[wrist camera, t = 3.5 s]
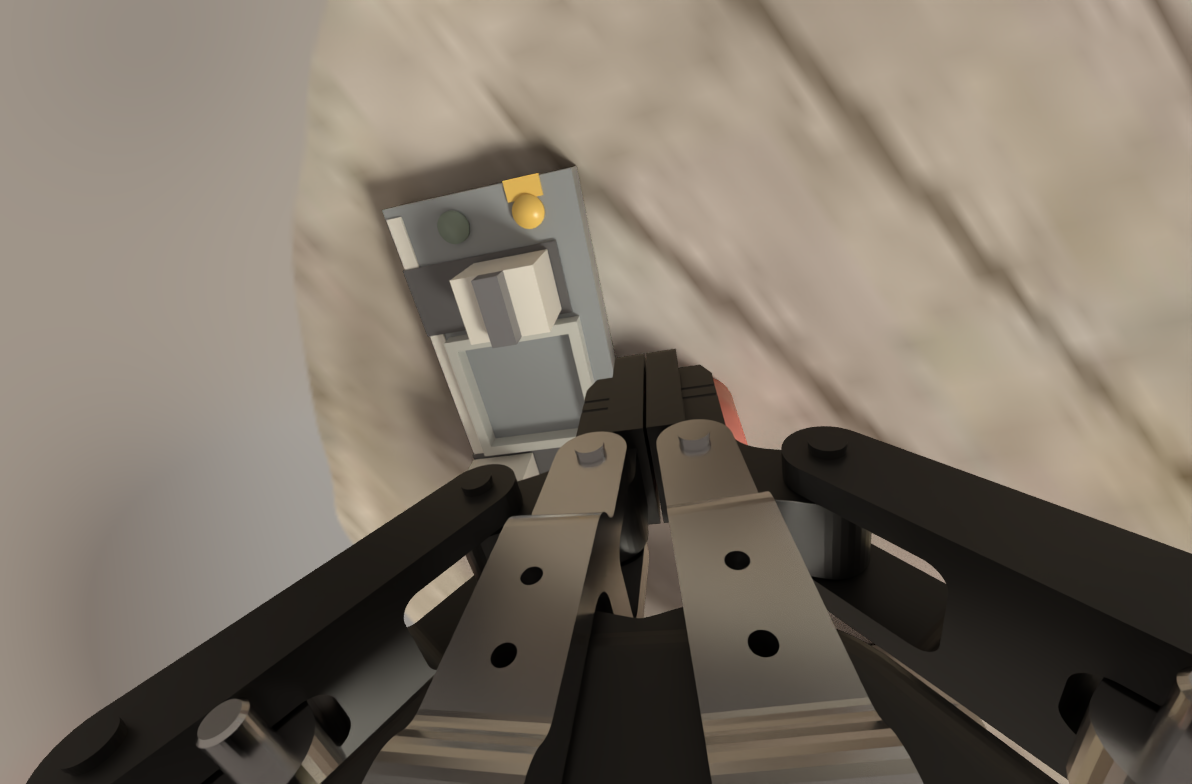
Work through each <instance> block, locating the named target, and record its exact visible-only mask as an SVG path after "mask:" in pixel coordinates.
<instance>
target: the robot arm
mask: <svg viewBox="0 0 1192 784" xmlns="http://www.w3.org/2000/svg"><path fill="white" fill-rule="evenodd" d="M660 505H661V510H662V516H663V521H664V523H669V525H670V531H671V537H672V543H673V549H674V555H675V561H676V567H677V573H678V579H679V585H680V591H681V597H682V603H683V607H681V608H678V609H675V610H671V611H668V612H664V613H661V614H657V615H654V616H651V617H646V618H644V607H645V597H646V586H647V575H648V564H649V550H648V545H647V540H648V524H659V523H661V522H660ZM872 533H873V534H875V535H877V536H879V537H881V538H883V539H885V540H887V541H889V542H891V543H893V544H895V545H896V546H898V547H900V548H902V549H904V550H906V551H908V552H910V553H912V554H914V555H916V556H918V557H919V558H921V559H923V560H925V561H926V562H928V563H929V564H930V565H932V566H933V567H934V568H935V569H936V570H937V571H938V572H939V573H940V574H941V576H942V577H943V579H944V580H945V582H946V584H945V583H943V582H941V581H939V580H938V579H936V578H934V577H932V576H930V575H928V574H926V573H925V572H923V571H921V570H919V569H917V568H915V567H913V566H912V565H910V564H908V563H906V562H904V561H902V560H901V559H899V558H897V557H895V556H893V555H891V554H889V553H888V552H886V551H884V550H882V549H880V548H878V547H876V546H875V545H873V544H871V534H872ZM465 555H466V557H467V560H468V562H469V564H470V566H471V569H472V571H473V573H474V576H473V577H471V578H470V579H469V580H468V581H467V582H465V583H464V584H463V585H462V586H460V587H459V588H458V589H457V590H456V591H454V592H453V593H452V594H451V595H449V596H448V597H447V598H446V599H445V600H443V601H442V602H441V603H440V604H438V605H437V606H436V607H435V608H433V609H432V610H431V611H430V612H429V613H427V614H426V615H425V616H424V617H422V618H421V619H420V620H419V621H418V622H416V623H415V624H413V625H412V626H410V627H406V625H405V623H404V612H405V608H406V606H407V604H408V602H409V601H410V600H411V598H412V597H413V596H414V595H415V594H416V593H417V592H419V591H420V590H421V589H422V588H424V587H425V586H426V585H428V584H429V583H430V582H431V581H433V580H434V579H435V578H437V577H438V576H439V575H440V574H442V573H443V572H444V571H446V570H447V569H448V568H449V567H451V566H452V565H453V564H455V563H456V562H457V561H459V560H460V559H461V558H462V557H464V556H465ZM828 611H829V612H830V613H832V614H833V615H834V616H836V617H837V618H839V619H840V620H842V621H843V622H844V623H846V624H847V625H849V626H850V627H852V628H853V629H854V630H856V631H857V632H859V633H860V634H861V635H863V636H864V637H866V638H867V639H869V640H870V641H871V642H873V643H874V644H876V645H872V646H871V645H869V644H867V643H866V642H864V641H862V640H860V639H858V638H856V637H854V636H852V635H850V634H848V633H846V632H843V631H840V630H838V629H836V628H835V626H834V624H833V622H832V620H831V618H830V615H829V613H828ZM981 719H982V720H984V721H985V722H987V723H988V724H989V725H991V726H992V727H994V728H995V729H996V730H998V731H999V732H1001V733H1002V734H1004V735H1005V736H1006V737H1008V738H1009V739H1011V740H1012V741H1014V742H1015V743H1016V744H1018V745H1019V746H1021V747H1022V748H1023V749H1025V750H1026V751H1028V752H1029V753H1031V754H1032V755H1033V756H1035V757H1036V758H1038V759H1039V760H1041V761H1042V762H1043V763H1045V764H1046V765H1048V766H1049V767H1050V768H1052V769H1053V770H1055V771H1056V772H1058V773H1059V774H1060V775H1062V776H1063V777H1065V778H1066V779H1068V781H1069V784H1192V554H1191V553H1188V552H1185V551H1183V550H1180V549H1177V548H1174V547H1171V546H1169V545H1166V544H1163V543H1160V542H1158V541H1155V540H1152V539H1149V538H1147V537H1144V536H1141V535H1138V534H1136V533H1133V532H1130V531H1127V530H1125V529H1122V528H1119V527H1116V526H1114V525H1111V524H1108V523H1105V522H1102V521H1100V520H1097V519H1094V518H1091V517H1089V516H1086V515H1083V514H1080V513H1078V512H1075V511H1072V510H1069V509H1067V508H1064V507H1061V506H1058V505H1056V504H1053V503H1050V502H1047V501H1045V500H1042V499H1039V498H1036V497H1033V496H1031V495H1028V494H1025V493H1022V492H1020V491H1017V490H1014V489H1011V488H1009V487H1006V486H1003V485H1000V484H998V483H995V482H992V481H989V480H987V479H984V478H981V477H978V476H976V475H973V474H970V473H967V472H964V471H962V470H959V469H956V468H953V467H951V466H948V465H945V464H942V463H940V462H937V461H934V460H931V459H929V458H926V457H923V456H920V455H918V454H915V453H912V452H909V451H906V450H904V449H901V448H898V447H895V446H893V445H890V444H887V443H884V442H882V441H879V440H876V439H873V438H871V437H868V436H865V435H862V434H860V433H857V432H854V431H851V430H848V429H843V428H839V427H828V426H821V427H811V428H806V429H802V430H799V431H797V432H794V433H793V434H791V435H790V436H788V437H787V438H786V439H785V440H784V442H783V444H782V449H781V450H774V449H763V448H757V447H752V446H749V445H746V444H743V443H741V442H739V441H737V440H736V439H735V438H734V436H733V433H732V432H731V430H730V429H729V428H728V427H727V426H726V424H725V421H724V417H723V413H722V410H721V406H720V402H719V399H718V395H717V391H716V388H715V384H714V380H713V377H712V373H711V372H710V371H708V370H707V369H705V368H704V367H703V366H701V365H695V366H688V367H681V368H678V362H677V355H676V349H671V350H665V351H658V352H651V353H647V354H646V358H645V354H639V355H632V356H626V357H619V358H615V363H614V370H613V377H612V378H606V379H599V380H597V381H596V382H595V383H594V384H593V385H592V386H591V387H590V388H589V389H588V390H587V392H586V396H585V400H584V405H583V409H582V413H581V417H580V421H579V426H578V430H577V434H576V437H575V438H573V439H571V440H569V441H568V442H566V443H565V444H564V445H563V446H561V447H560V449H559V450H558V451H557V453H556V455H555V458H554V460H553V463H552V465H551V468H550V470H549V471H547V472H544V473H542V474H539V475H536V476H533V477H530V478H527V479H524V480H520V481H517V479H516V476H515V473H514V471H513V470H512V469H511V468H509V467H508V466H505V465H501V464H488V465H483V466H479V467H476V468H473V469H470V470H468V471H466V472H464V473H462V474H461V475H459V476H458V477H456V478H455V479H453V480H451V481H450V482H448V483H447V484H445V485H444V486H442V487H441V488H439V489H438V490H436V491H435V492H433V493H432V494H430V495H429V496H427V497H425V498H424V499H422V500H421V501H419V502H418V503H416V504H415V505H413V506H412V507H410V508H409V509H407V510H406V511H404V512H403V513H401V514H400V515H398V516H396V517H395V518H393V519H392V520H390V521H389V522H387V523H386V524H384V525H383V526H381V527H380V528H378V529H377V530H375V531H374V532H372V533H370V534H369V535H367V536H366V537H364V538H363V539H361V540H360V541H358V542H357V543H355V544H354V545H352V546H351V547H349V548H348V549H346V550H345V551H343V552H342V553H340V554H338V555H337V556H335V557H334V558H332V559H331V560H329V561H328V562H326V563H325V564H323V565H322V566H320V567H319V568H317V569H315V570H314V571H312V572H311V573H309V574H308V575H306V576H305V577H303V578H302V579H300V580H299V581H297V582H296V583H294V584H293V585H291V586H290V587H288V588H286V589H285V590H283V591H282V592H280V593H279V594H277V595H276V596H274V597H273V598H271V599H270V600H268V601H267V602H265V603H264V604H262V605H260V606H259V607H257V608H256V609H254V610H253V611H251V612H250V613H248V614H247V615H245V616H244V617H242V618H241V619H239V620H238V621H236V622H235V623H233V624H231V625H230V626H228V627H227V628H225V629H224V630H222V631H221V632H219V633H218V634H216V635H215V636H213V637H212V638H210V639H209V640H207V641H206V642H204V643H203V644H201V645H200V646H198V647H196V648H195V649H193V650H192V651H190V652H189V653H187V654H186V655H184V656H183V657H181V658H180V659H178V660H176V661H175V662H174V663H172V664H170V665H169V666H168V667H166V668H164V669H163V670H161V671H160V672H158V673H157V674H155V675H154V676H152V677H150V678H149V679H147V680H146V681H144V682H143V683H141V684H140V685H138V686H137V687H135V688H134V689H132V690H131V691H129V692H128V693H126V694H125V695H123V696H122V697H120V698H118V699H117V700H115V701H114V702H113V703H111V704H109V705H108V706H106V707H105V708H103V709H102V710H100V711H99V712H97V713H96V714H94V715H93V716H91V717H90V718H88V719H87V720H86V721H84V722H83V723H82V724H81V725H79V726H78V727H77V728H75V729H74V730H73V731H72V732H71V733H70V734H68V735H67V736H66V737H65V738H64V739H63V740H62V741H61V742H60V743H59V744H58V745H57V746H56V747H55V748H53V749H52V751H51V752H50V753H49V754H48V755H47V756H46V757H45V758H44V759H43V761H42V762H41V763H40V764H39V766H38V767H37V768H36V769H35V771H34V772H33V774H32V775H31V777H30V778H29V780H28V781H27V783H26V784H1059V783H1057V782H1056V781H1055V780H1053V779H1052V778H1051V777H1049V776H1048V775H1047V774H1045V773H1044V772H1043V771H1041V770H1040V769H1039V768H1037V767H1036V766H1035V765H1033V764H1032V763H1031V762H1029V761H1028V760H1027V759H1025V758H1024V757H1023V756H1021V755H1020V754H1019V753H1017V752H1016V751H1015V750H1013V749H1012V748H1011V747H1009V746H1008V745H1007V744H1005V743H1004V742H1003V741H1001V740H1000V739H999V738H997V737H996V736H995V735H993V734H992V733H991V732H989V731H988V730H987V729H986V727H985V725H984V724H983V722H982V720H981Z"/></svg>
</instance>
